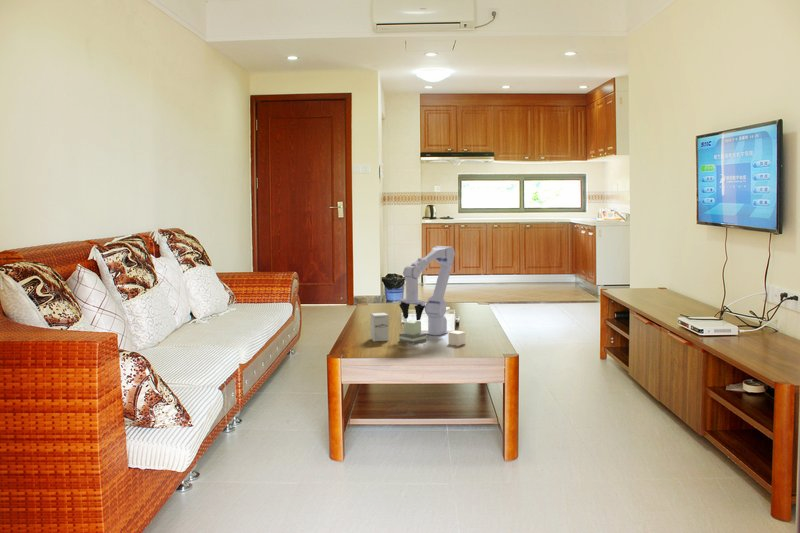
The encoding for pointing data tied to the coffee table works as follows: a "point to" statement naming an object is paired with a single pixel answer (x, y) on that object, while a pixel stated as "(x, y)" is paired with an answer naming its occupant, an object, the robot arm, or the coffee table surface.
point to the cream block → (456, 338)
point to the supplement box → (379, 327)
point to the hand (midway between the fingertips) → (412, 319)
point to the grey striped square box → (412, 338)
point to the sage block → (412, 327)
